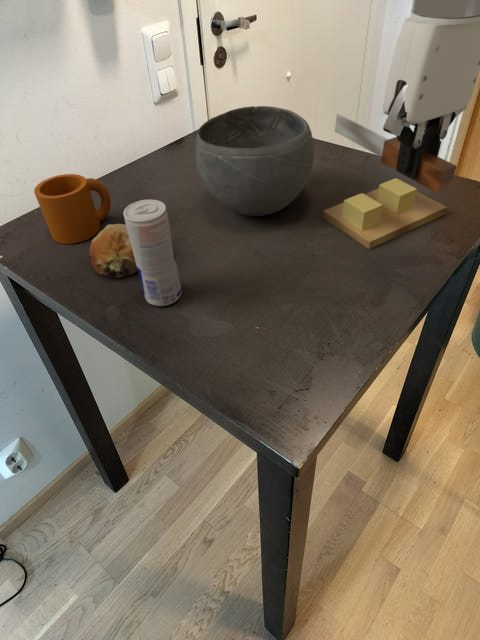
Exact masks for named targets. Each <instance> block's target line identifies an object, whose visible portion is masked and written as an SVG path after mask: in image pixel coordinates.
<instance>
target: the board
mask: <svg viewBox="0 0 480 640" xmlns="http://www.w3.org/2000/svg"><path fill="white" fill-rule="evenodd" d="M378 190H379V188H376V189H374V190H371V191H368V192H366V193H364V194H365V195H366V196H368V197H370V198H371V199H373V200H375V201H377V196H378ZM343 206H344V202H341V203H338V204H336V205H333V206H331V207H329V208H327V209H323V210H322V219H323V220H325V221H326V222H328V223H329V224H331V225H332V226H334V227H335V228H337V229H338V230H340V231H341V232H342V233H344V234H346V235H347V236H348V237H350V238H351V239H353V240H354V241H356V242H357V243H359V244H361V246H363V247H365V248H366V249H368V250H370V249H372V248H375V247H377V246H379V245H381V244H383V243H385V242H388V241H390V240H392V239H395V238H396V237H399V236H401V235H404V234H405V233H408V232H409V231H412V230H414V229H416V228H419V227H421V226H423V225H425V224H428V223H430V222H432V221H434V220H436V219H438V218H441V217H442V216H445V215H446V213H447V209H448V207H447V206H446V205H444V204H442V203H440V202H438V201H436V200H434V199H432V198H430V197H429V196H426V195H424V194H423V193H421V192H419V191H417V192H416V196H415V201H414V205H413V207H412V208H409V209H407V210H405V211H402V212H400V213H398V214H396V213H394V212H392V211H391V210H389V209H387V208H385V207H384V206H382V211H381V217H380V223H378V224H376V225H374V226H371V227H369V228H367V229H365V230H362V231H361V230H360V229H358V228H357V227H355V226H354V225H352V224H351V223H349V222H348V221H346V220H345V219H343V218H342V214H343Z"/></svg>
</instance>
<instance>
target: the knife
mask: <svg viewBox="0 0 480 640" xmlns="http://www.w3.org/2000/svg"><path fill="white" fill-rule="evenodd" d="M334 132H335V133H337V134H338V135H340V136H342V137H344V138H345V139H347V140H349V141H351V142H353V143H355V144H356V145H359V146H360V147H362V148H364V149H365V150H368V151H369V152H370V153H373V154H375V155H377V156H378V157H380V163H381V164H383V165H385V166H387V167H389V168H390V169H392V170H394V171H396V172H398V171H397V170H396V165H397V160H398V154H399V149H400V143H401V142H399V141H398V140H397V136H394V137H392V138H387V137H385V136H383V135H381V134H380V133H378V132H376V131H373V130H372V129H369V128H367V127H365V126H363V125H361V124H359V123H358V122H356V121H353V120H352V119H350V118H348V117H345V116H344V115H342V114H339V113H336V117H335V126H334ZM457 168H458V166H457V165H456V164H454V163H451V162H450V161H448V160H446V159H443V158H442V157H440V156H438V157H437V156H435V155H433V154H431V153H429V152H427V151H425V150H423V154H422V159H421V163H420V167H419V172H418V176H417V177H416V178H414V179H411V178H409V177H407V176H405V175H404V174H402V173H400V172H398V173H400V174H401V175H403V176H405V177H407V178H408V179H410V180H412V181H414V182H415V183H417V184H419V185H420V186H423V187H424V188H426V189H428V190H430V191H432V192H433V193H435V194H440V193H442V192H445V191H447V190H450V189H451V186H452V183H453V180H454V176H455V173H456V170H457Z"/></svg>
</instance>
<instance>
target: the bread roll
mask: <svg viewBox="0 0 480 640" xmlns="http://www.w3.org/2000/svg"><path fill="white" fill-rule="evenodd" d="M88 251H89V260H90V265H91V267H92V269H93V270H94V271H95V272H96V273H97V274H99V275H100V276H103V277H108V278H110V279H113V278H115V279H119V278H120V279H121V278H124V277H128V276H132V275H134V274H135V273H138V269H137V265H136V261H135V258H134V254H133V250H132V246H131V242H130V238H129V234H128V231H127V227H126V223H115V224H114V223H113V224H106V226H105V227H104V228H103V229H102V230H101V231H99V232H98V233H97V234H96V235H95V237H93V239H92V240H91V242H90V246H89V249H88Z"/></svg>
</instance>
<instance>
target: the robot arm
mask: <svg viewBox="0 0 480 640" xmlns="http://www.w3.org/2000/svg"><path fill="white" fill-rule="evenodd" d="M479 72H480V0H412V4H411V10H410V16H409V17H406V18H404V21H403V23H402V25H401V28H400V31H399V34H398V37H397V40H396V44H395V47H394V51H393V54H392V59H391V62H390V67H389V71H388V75H387V80H386V86H385V91H384V97H383V103H382V112H383V114H385V115H386V116H387V117H386V120H385V122H384V124H383V127H382V130H383V131H384V132H385V133H387V134H390V135H393V136H395V137H397V140H398V141H399V142H401V143H400V149H399V154H398V160H397V165H396V170H397V171H398V173H399V172H400V174H401V173H402V174H401V175H403V174H404V175H403V176H404V177H406V176H407V178H408V177H409V178H408V179H410V178H411V179H410V180H412V179H414V178H416V177H417V176H418V172H419V167H420V163H421V159H422V154H423V150H425V151H427V152H429V153H431V154H433V155H435V156H437V157H439V154H440V149H441V145H442V140H444V139H445V138H447V135H448V132H449V128H450V126H451V125H452V124H453V122H454V121H455V119H456V118H457V117H458V116H460V115H461V114H462V113H463V112H464V111H465V110H466V109H467V108H468V104H469V103H470V101H471V99H472V96H473V93H474V90H475V88H476V83H477V80H478V76H479ZM411 126H412V127H414V128H413V129H412V128H411ZM396 170H395V171H396ZM397 171H396V172H397Z"/></svg>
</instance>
